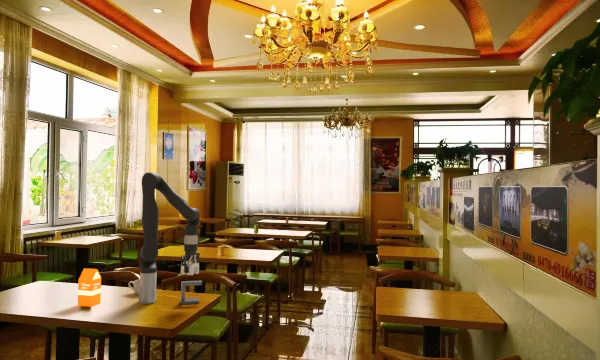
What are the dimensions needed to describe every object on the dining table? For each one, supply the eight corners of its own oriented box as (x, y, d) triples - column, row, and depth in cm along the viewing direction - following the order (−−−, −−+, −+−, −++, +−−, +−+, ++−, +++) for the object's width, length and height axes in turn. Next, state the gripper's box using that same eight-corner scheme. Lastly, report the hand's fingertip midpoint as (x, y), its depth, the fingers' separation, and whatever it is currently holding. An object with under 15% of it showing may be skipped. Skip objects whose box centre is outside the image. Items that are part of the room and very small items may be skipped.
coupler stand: (181, 304, 243) (181, 283, 243) (180, 300, 251) (181, 280, 251) (201, 303, 247) (202, 282, 247) (200, 299, 254) (201, 279, 254)
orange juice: (91, 306, 234) (92, 270, 235) (77, 305, 236) (78, 269, 237) (100, 303, 242) (101, 267, 243) (87, 302, 244) (88, 267, 244)
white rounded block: (198, 273, 245) (199, 263, 245) (191, 275, 239) (192, 264, 239) (186, 271, 248) (187, 261, 249) (179, 273, 243) (180, 263, 243)
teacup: (154, 291, 271) (154, 279, 271) (146, 296, 260) (146, 282, 260) (133, 290, 272) (133, 278, 273) (124, 295, 262) (125, 281, 262)
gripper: (187, 244, 236) (186, 275, 236) (204, 242, 249) (203, 270, 249) (177, 243, 239) (176, 273, 239) (193, 241, 252) (192, 269, 252)
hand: (190, 272), depth 244 cm, fingers closed on white rounded block, 6 cm apart
